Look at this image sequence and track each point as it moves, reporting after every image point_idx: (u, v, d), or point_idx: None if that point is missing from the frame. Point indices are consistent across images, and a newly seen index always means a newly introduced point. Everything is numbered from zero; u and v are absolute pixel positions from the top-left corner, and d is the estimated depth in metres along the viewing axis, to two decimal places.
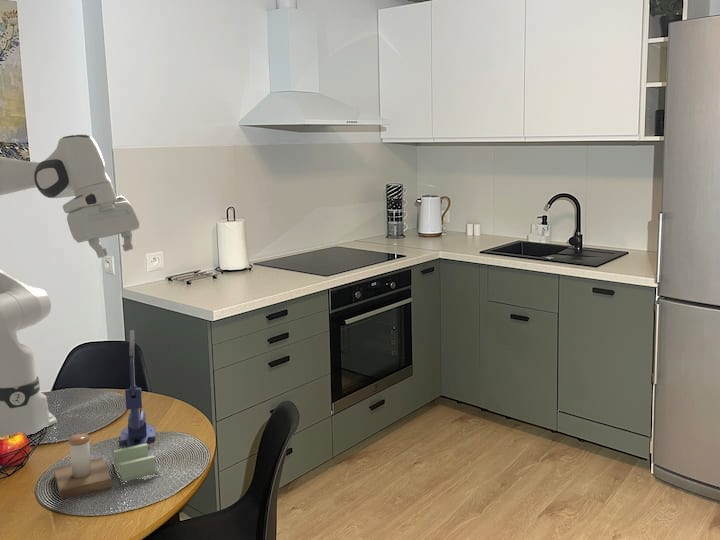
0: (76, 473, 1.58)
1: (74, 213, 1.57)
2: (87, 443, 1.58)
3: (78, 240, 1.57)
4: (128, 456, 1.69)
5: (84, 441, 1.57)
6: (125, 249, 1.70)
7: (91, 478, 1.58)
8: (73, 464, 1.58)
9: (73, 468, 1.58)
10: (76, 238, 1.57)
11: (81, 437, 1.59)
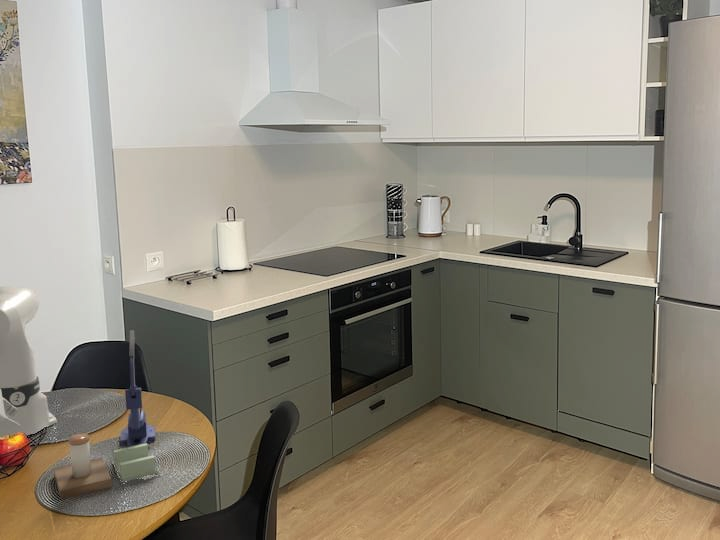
0: (76, 473, 1.58)
1: None
2: (87, 443, 1.58)
3: None
4: (128, 456, 1.69)
5: (84, 441, 1.57)
6: (12, 414, 1.54)
7: (91, 478, 1.58)
8: (73, 464, 1.58)
9: (73, 468, 1.58)
10: None
11: (81, 437, 1.59)
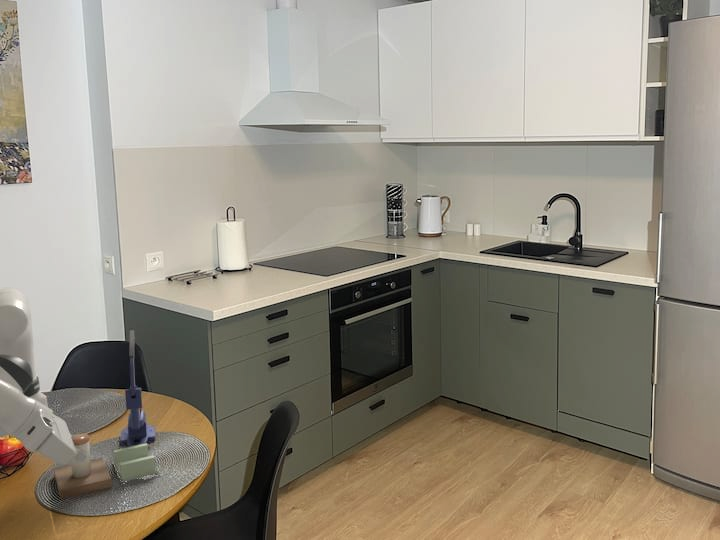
0: (76, 473, 1.58)
1: (47, 444, 1.47)
2: (87, 443, 1.58)
3: (68, 462, 1.49)
4: (128, 456, 1.69)
5: (84, 441, 1.57)
6: None
7: (91, 478, 1.58)
8: (73, 464, 1.58)
9: (73, 468, 1.58)
10: (66, 461, 1.48)
11: (81, 437, 1.59)
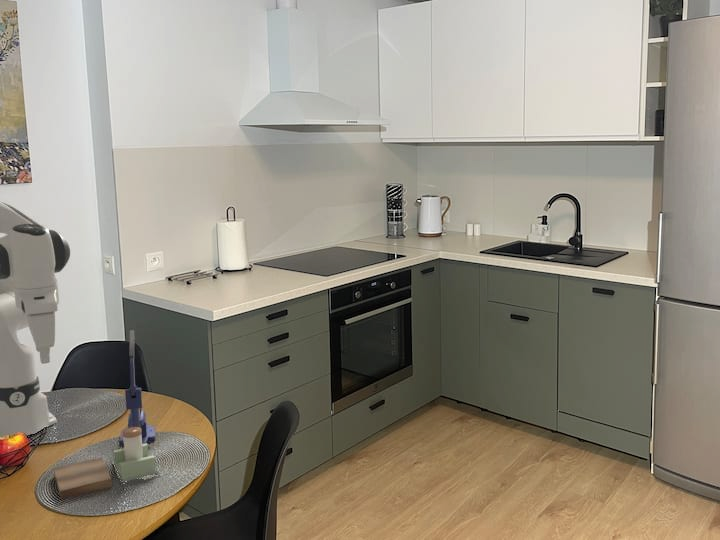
0: None
1: (43, 317, 1.45)
2: (140, 435, 1.65)
3: (41, 347, 1.45)
4: None
5: (137, 434, 1.64)
6: (39, 350, 1.58)
7: (91, 478, 1.58)
8: (127, 456, 1.64)
9: (126, 459, 1.64)
10: (41, 344, 1.45)
11: (134, 430, 1.65)
